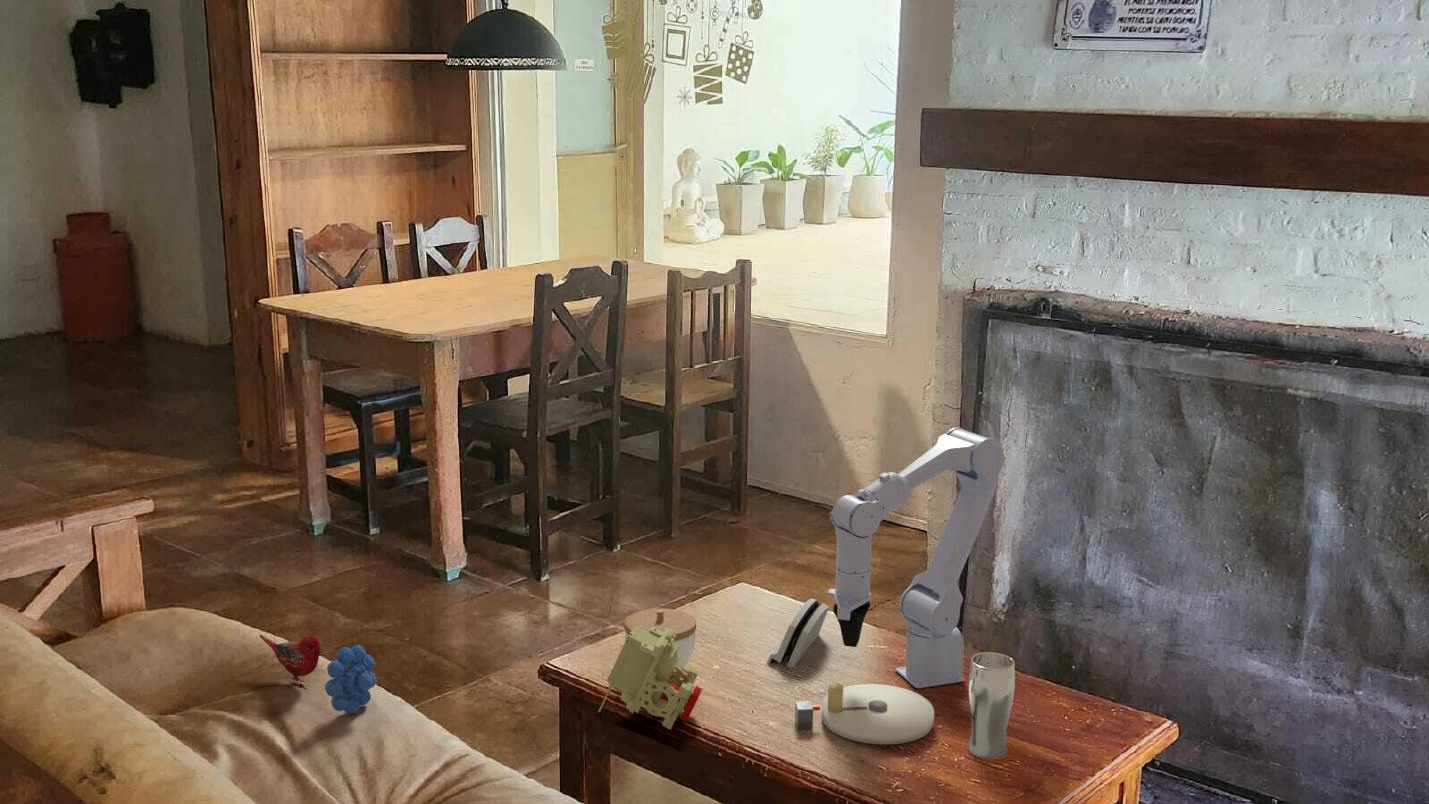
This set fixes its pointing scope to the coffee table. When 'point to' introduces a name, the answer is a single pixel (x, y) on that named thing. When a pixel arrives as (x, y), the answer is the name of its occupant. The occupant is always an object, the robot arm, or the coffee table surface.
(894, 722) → the turntable
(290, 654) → the decorative bird figurine
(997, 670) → the beer glass
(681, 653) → the lidded bowl
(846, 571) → the robot arm
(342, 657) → the grapes
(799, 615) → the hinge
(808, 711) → the gray block
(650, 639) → the mechanical component
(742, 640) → the coffee table surface
